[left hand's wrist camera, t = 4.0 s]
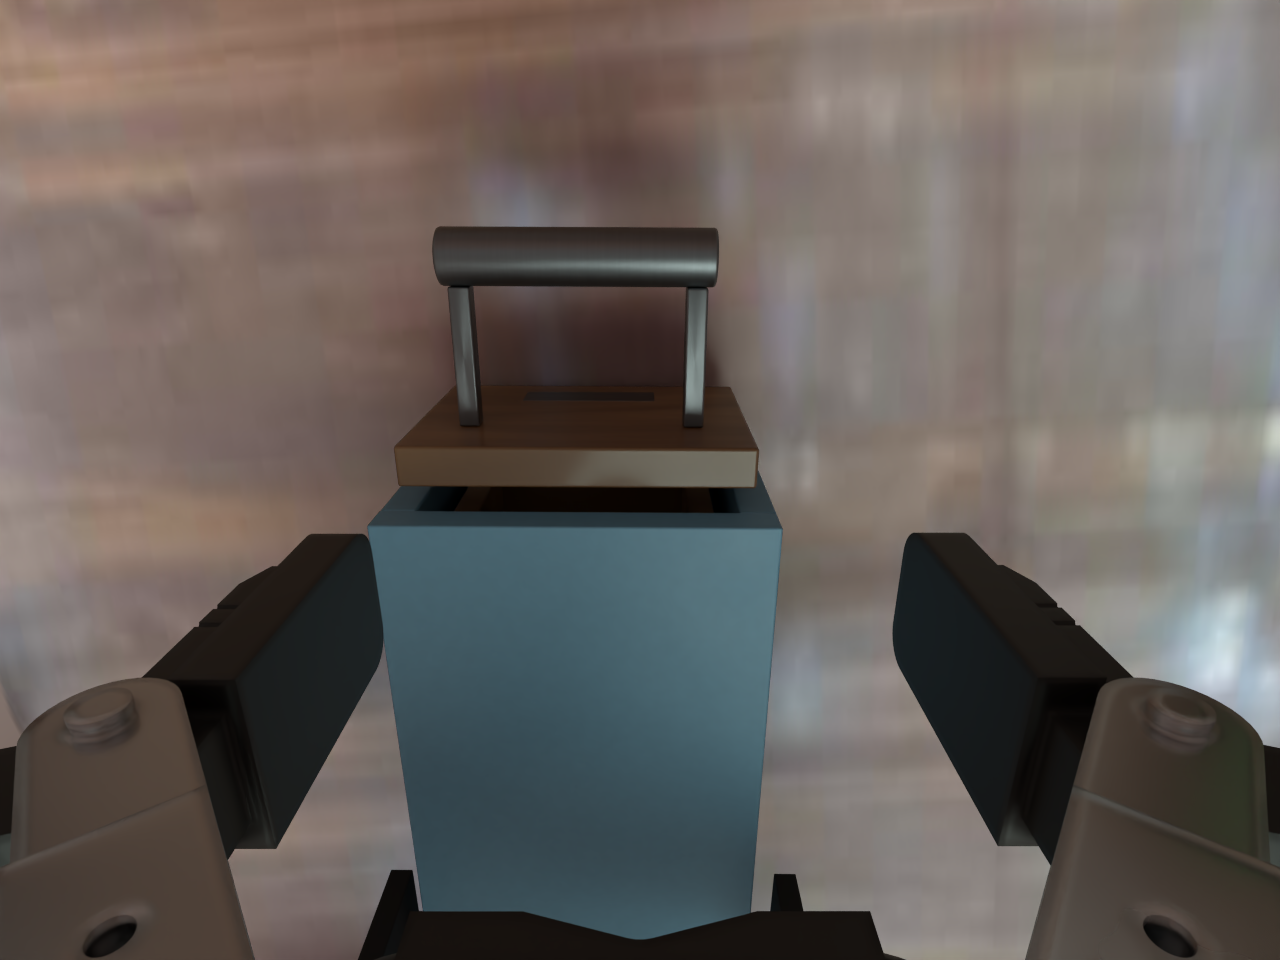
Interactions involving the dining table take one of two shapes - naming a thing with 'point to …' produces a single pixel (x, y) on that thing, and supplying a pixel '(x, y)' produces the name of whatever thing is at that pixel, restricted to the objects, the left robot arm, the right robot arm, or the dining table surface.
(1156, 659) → the dining table surface
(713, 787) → the blue box
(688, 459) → the drawer
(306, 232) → the dining table surface
